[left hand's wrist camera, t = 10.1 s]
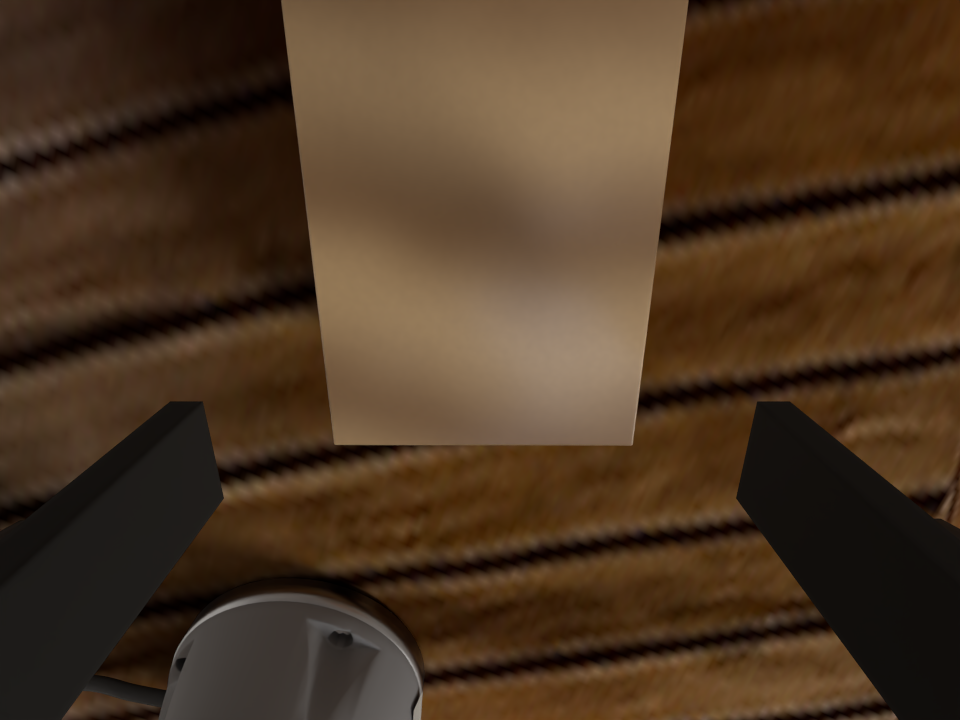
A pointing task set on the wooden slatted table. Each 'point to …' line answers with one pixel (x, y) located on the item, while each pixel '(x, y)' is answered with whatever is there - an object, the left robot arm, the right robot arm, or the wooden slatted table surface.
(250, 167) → the wooden slatted table surface
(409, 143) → the cabinet
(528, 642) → the wooden slatted table surface
